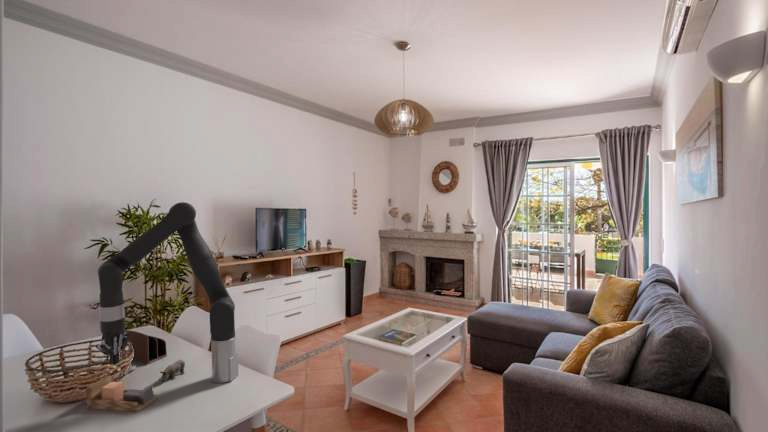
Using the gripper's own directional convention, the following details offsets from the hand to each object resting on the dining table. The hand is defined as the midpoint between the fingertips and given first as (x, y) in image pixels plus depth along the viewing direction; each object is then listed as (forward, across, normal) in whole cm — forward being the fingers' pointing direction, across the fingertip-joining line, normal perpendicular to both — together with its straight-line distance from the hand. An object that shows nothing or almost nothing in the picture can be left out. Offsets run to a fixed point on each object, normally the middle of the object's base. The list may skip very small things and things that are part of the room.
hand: (115, 363), depth 145 cm
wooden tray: (+15, 0, -2) cm, 15 cm away
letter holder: (+15, +36, +22) cm, 45 cm away
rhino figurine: (+15, +20, -6) cm, 26 cm away
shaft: (+13, 0, -9) cm, 16 cm away
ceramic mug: (+15, +20, +18) cm, 31 cm away
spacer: (+14, 0, +1) cm, 14 cm away
